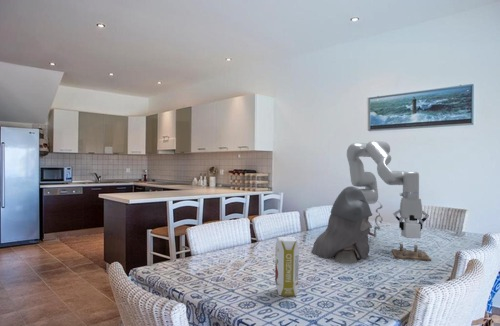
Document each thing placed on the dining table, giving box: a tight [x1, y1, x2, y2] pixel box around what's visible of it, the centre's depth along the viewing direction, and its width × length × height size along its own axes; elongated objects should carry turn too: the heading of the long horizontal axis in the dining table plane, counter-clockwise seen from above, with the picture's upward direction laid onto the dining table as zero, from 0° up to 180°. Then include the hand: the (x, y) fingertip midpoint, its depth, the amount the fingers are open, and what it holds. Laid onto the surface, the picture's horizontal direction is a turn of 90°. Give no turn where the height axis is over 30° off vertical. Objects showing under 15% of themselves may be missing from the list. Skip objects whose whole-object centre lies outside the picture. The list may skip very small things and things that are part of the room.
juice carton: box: [274, 236, 300, 297], centre depth 120 cm, size 8×9×19 cm
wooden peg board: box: [391, 243, 432, 262], centre depth 173 cm, size 16×16×4 cm
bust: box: [310, 185, 384, 265], centre depth 174 cm, size 34×34×35 cm
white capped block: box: [400, 215, 422, 239], centre depth 173 cm, size 7×7×12 cm
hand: (410, 229), depth 173 cm, fingers closed on white capped block, 7 cm apart
